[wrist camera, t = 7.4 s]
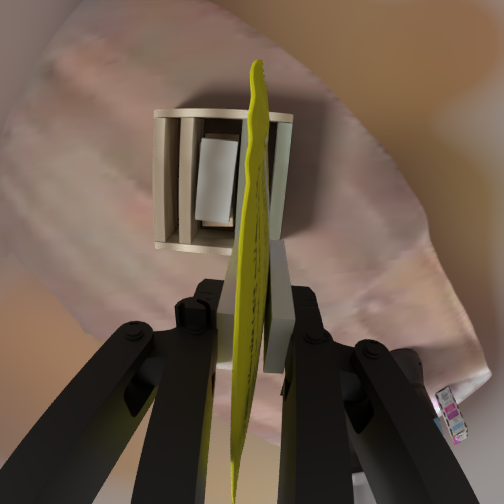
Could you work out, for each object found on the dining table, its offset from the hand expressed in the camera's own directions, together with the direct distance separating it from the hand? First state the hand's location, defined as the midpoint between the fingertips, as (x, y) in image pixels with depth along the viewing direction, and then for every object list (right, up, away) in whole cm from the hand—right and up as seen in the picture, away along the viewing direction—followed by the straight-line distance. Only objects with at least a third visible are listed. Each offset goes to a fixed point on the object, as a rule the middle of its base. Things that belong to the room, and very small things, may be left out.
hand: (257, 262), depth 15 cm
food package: (+1, +4, +9) cm, 10 cm away
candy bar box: (+57, -43, +45) cm, 84 cm away
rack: (-4, +11, +23) cm, 26 cm away
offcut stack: (-4, +11, +23) cm, 26 cm away
